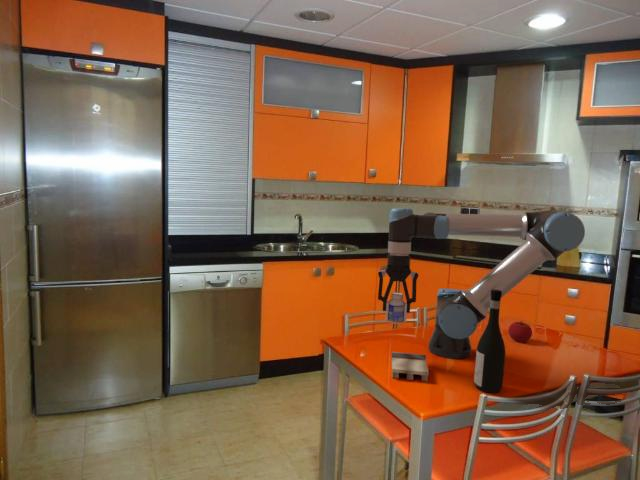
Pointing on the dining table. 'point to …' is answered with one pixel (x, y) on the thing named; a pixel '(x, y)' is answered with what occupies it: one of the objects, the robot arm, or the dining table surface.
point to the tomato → (520, 331)
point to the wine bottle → (491, 351)
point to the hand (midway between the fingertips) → (395, 320)
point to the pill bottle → (396, 309)
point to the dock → (409, 365)
